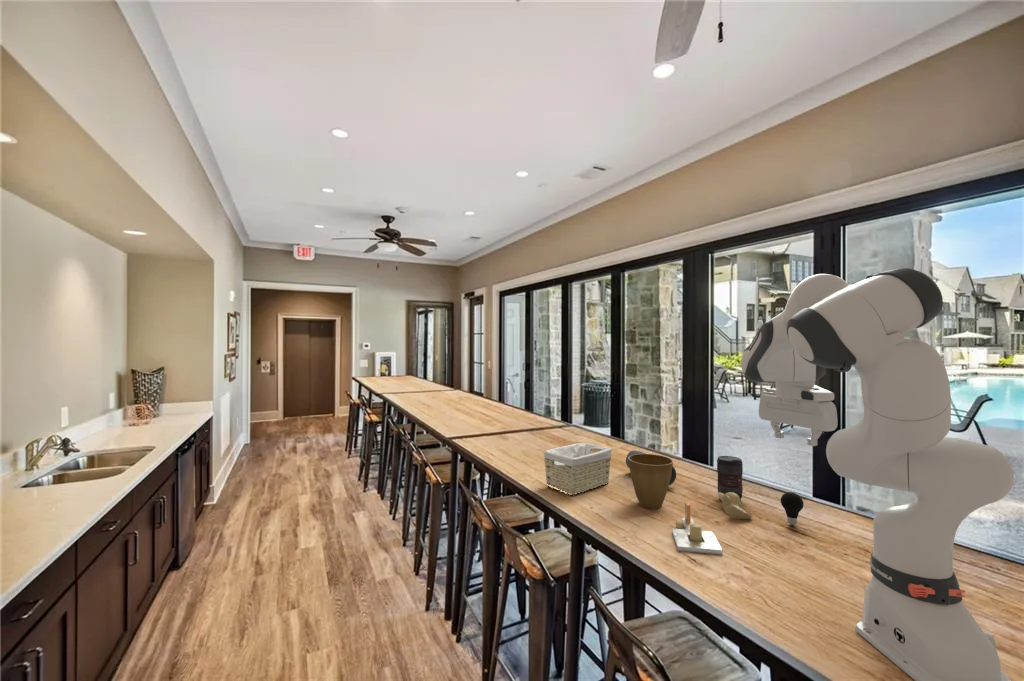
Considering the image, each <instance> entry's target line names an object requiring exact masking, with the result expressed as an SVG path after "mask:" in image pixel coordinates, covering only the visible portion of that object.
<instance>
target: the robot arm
mask: <svg viewBox="0 0 1024 681" xmlns="http://www.w3.org/2000/svg"><path fill="white" fill-rule="evenodd" d="M943 307H944V300H943V294H942V292H941V289H940V287H939V286H938V284H937V283H936V281H935V280H934V279H933V278H931V277H930V276H929V275H927V274H926V273H924V272H922V271H920V270H916V269H913V268H909V267H908V268H907V267H902V268H901V267H900V268H894V269H890V270H886V271H881V272H878V273H873V274H867V275H866V277H865V279H863V280H860V281H858V282H855V283H854V284H849V283H848V282H847V281H846V280H844V279H843V278H841V277H839V276H837V275H834V274H828V273H818V274H813V275H810V276H807V277H806V278H804V279H802V281H800V282H799V283H798V284H797V285H796V286H795V288H794V289H793V291H792V292H791V294H790V295H789V298H788V300H787V301H786V305H785V307H784V309H783V310H782V312H781V313H779V314H777V315H776V316H774V317H773V318H771V319H769V320H767V321H765V322H763V323H762V324H761V325H760V327H759V329H758V330H757V332H756V334H755V335H754V337H753V339H752V340H751V342H750V344H749V345H748V346H747V347H746V348H744V350H743V353H742V355H741V360H740V367H741V371H742V373H743V376H745V378H747V379H748V380H749V381H751V382H752V383H763V382H764V383H765V382H775V383H774V384H775V388H770V387H765V388H764V389H762V390H761V391H760V399H759V404H758V416H759V418H760V419H761V420H765V421H769V422H770V426H771V428H772V429H773V432H774V437H775V438H777V439H784V437H785V432H784V431H782V429H781V426H780V425H781V424H785V425H788V426H789V425H790V426H796V427H800V428H806V429H810V433H811V434H812V435H811V437H808V438H807V440H806V441H807V443H806V444H807V445H808V446H811V447H816V446H818V439H820V437H821V435H822V434H823V432H833V431H835V430H836V429H837V428H838V422H839V421H838V412H837V407H836V405H835V403H834V402H832V401H834V400H835V393H834V392H832V391H830V390H828V389H825V388H823V387H821V386H818V385H817V384H815V382H817V381H819V380H820V379H821V378H822V377H824V376H825V375H826V372H827V371H826V369H832V370H833V371H835V372H838V373H847V372H850V371H851V369H852V367H853V368H854V369H855V370H856V372H857V373H858V375H859V377H860V382H861V383H860V384H861V396H862V401H863V402H862V403H863V418H862V419H861V420H860V421H859V422H857V423H856V424H854V425H853V426H849V427H847V428H843V429H839V430H837V431H836V432H834V433H833V434H832V435H831V436H830V438H828V440H827V442H826V443H827V444H826V448H825V455H826V456H825V457H826V459H827V462H828V464H829V466H830V467H831V469H832V470H833V471H834V472H835V473H836V475H838V476H840V477H843V478H846V479H847V480H848V479H849V480H851V481H855V482H857V483H858V482H859V483H860V484H864V485H867V486H868V485H869V486H874V487H878V488H879V487H880V488H884V489H885V488H886V489H891V490H898V491H903V492H908V493H909V492H910V494H911V493H912V494H914V495H915V496H916V498H915V499H914V500H912V501H911V502H908V503H905V504H901V505H900V504H899V505H893V506H889V507H886V508H883V509H880V510H879V511H877V513H876V514H875V516H874V517H873V521H872V531H873V532H872V536H873V538H872V539H873V551H872V552H871V553H870V561H869V564H870V572H871V574H872V577H871V580H870V581H869V583H868V585H866V587H865V589H864V593H863V594H864V596H863V605H862V617H861V620H860V621H858V622H857V623H856V624H855V631H856V633H858V634H859V635H860V636H861V637H863V638H864V639H865V640H866V641H867V642H869V643H870V644H871V645H872V647H875V648H876V649H877V650H878V651H880V653H882V654H883V655H884V656H885V657H886V658H887V659H889V660H890V661H891V662H892V663H894V664H895V665H896V666H897V667H899V668H900V669H901V670H902V671H903V672H905V673H906V674H907V675H908V676H909V677H910V678H911V679H913V680H914V681H1012V680H1011V678H1010V677H1009V676H1008V675H1007V674H1006V673H1005V672H1004V671H1003V670H1002V669H1001V661H1000V657H999V653H998V651H997V649H996V639H995V638H994V636H993V634H992V633H990V632H989V631H984V630H983V629H982V628H981V626H980V625H979V624H978V622H977V621H976V620H975V618H974V616H973V614H972V612H970V611H969V609H968V608H967V606H966V605H965V603H964V602H963V598H966V597H967V596H966V595H964V594H963V593H966V590H965V589H964V590H963V589H961V588H960V583H959V581H958V579H957V575H956V573H955V572H954V570H953V568H954V567H953V566H954V565H953V563H954V562H953V561H954V559H953V558H954V544H955V540H956V539H955V537H956V535H957V534H956V533H957V531H958V529H959V527H960V525H961V523H962V522H963V521H964V520H965V519H966V518H967V517H968V516H970V515H971V513H973V512H975V511H977V510H978V509H981V508H983V507H985V506H987V505H990V504H993V503H997V502H999V501H1000V500H1002V499H1004V498H1005V497H1006V496H1008V495H1009V493H1010V492H1011V490H1012V488H1013V486H1014V482H1015V475H1014V469H1013V467H1012V465H1011V464H1010V462H1009V460H1008V459H1007V458H1006V456H1005V455H1004V454H1003V453H1002V452H1001V451H999V450H998V449H997V448H996V447H994V446H991V445H987V444H983V443H980V442H976V441H971V440H966V439H962V438H958V437H949V436H948V437H947V435H948V433H949V432H950V430H951V426H952V420H951V419H952V414H951V411H952V409H951V408H952V403H951V402H952V398H951V397H952V396H951V394H952V393H951V384H950V380H949V379H950V378H949V376H948V372H947V369H946V366H945V363H944V361H943V358H942V356H941V354H940V353H939V352H938V350H937V349H935V348H934V347H933V346H932V345H930V344H929V343H927V342H926V341H925V342H924V341H921V340H919V339H914V338H908V337H904V335H905V334H908V333H909V332H911V331H912V330H914V329H918V328H921V327H924V326H925V325H926V324H928V323H930V322H931V321H932V320H934V319H935V318H936V317H938V315H939V314H940V313H941V312H942V309H943Z"/></svg>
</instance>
